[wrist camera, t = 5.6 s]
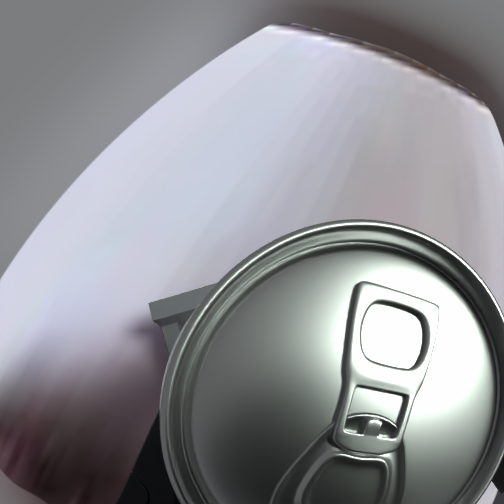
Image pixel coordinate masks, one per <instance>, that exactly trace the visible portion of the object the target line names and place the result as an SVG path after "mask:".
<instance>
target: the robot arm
mask: <svg viewBox="0 0 504 504" xmlns="http://www.w3.org/2000/svg"><path fill="white" fill-rule="evenodd" d="M132 472H133V473H132ZM132 472H131V473H130V475H129V477H128V479H127V482H126V484H125V486H124V488H123V490H122V492H121V494H120V496H119V498H118V500H117V502H116V504H181V503H180V502H179V500H178V498H177V496H176V494H175V492H174V489H173V487H172V485H171V482H170V480H169V477H168V474H167V470H166V467H165V463H164V459H163V453H162V447H161V439H160V408H159V411H158V413H157V415H156V417H155V419H154V422H153V424H152V426H151V428H150V430H149V433H148V435H147V437H146V439H145V441H144V444H143V446H142V448H141V450H140V453H139V455H138V457H137V459H136V462H135V464H134V466H133V468H132ZM492 482H493V483H494V485H495V486H496V488H497V489H498V490H499V492H500V493H503V492H504V456H503V459H502V461H501V463H500V465H499V468H498V470H497V472H496V474H495V475H494V477H493V479H492Z"/></svg>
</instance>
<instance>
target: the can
mask: <svg viewBox="0 0 504 504" xmlns="http://www.w3.org/2000/svg"><path fill="white" fill-rule="evenodd" d="M160 439H161V447H162V453H163V459H164V463H165V467H166V470H167V474H168V477H169V480H170V482H171V485H172V487H173V489H174V492H175V494H176V496H177V498H178V500H179V502H180V503H181V504H476V503H477V502H478V501H479V499H480V498H481V496H482V495H483V494H484V492H485V491H486V489H487V487H488V486H489V484H490V482H491V481H492V479H493V477H494V475H495V474H496V472H497V470H498V468H499V465H500V463H501V461H502V459H503V456H504V315H503V313H502V311H501V308H500V306H499V305H498V303H497V301H496V299H495V297H494V296H493V294H492V292H491V291H490V289H489V288H488V286H487V285H486V284H485V282H484V281H483V280H482V278H481V277H480V276H479V275H478V274H477V272H476V271H475V270H474V269H473V268H472V267H471V266H470V265H469V264H468V263H467V262H466V261H465V260H464V259H463V258H462V257H460V256H459V255H458V254H457V253H455V252H454V251H453V250H451V249H450V248H449V247H447V246H446V245H444V244H443V243H441V242H439V241H438V240H436V239H434V238H432V237H430V236H428V235H426V234H424V233H422V232H419V231H417V230H414V229H412V228H409V227H406V226H402V225H398V224H395V223H390V222H384V221H377V220H364V219H351V220H338V221H331V222H325V223H320V224H316V225H312V226H308V227H305V228H302V229H299V230H296V231H293V232H291V233H289V234H286V235H284V236H282V237H280V238H277V239H275V240H273V241H272V242H270V243H268V244H266V245H264V246H263V247H261V248H259V249H258V250H256V251H255V252H253V253H252V254H250V255H249V256H248V257H246V258H245V259H244V260H242V261H241V262H240V263H238V264H237V265H236V266H235V267H234V268H232V269H231V270H230V271H229V272H228V273H227V274H226V275H225V276H224V277H223V278H222V279H221V280H220V281H219V282H218V283H217V284H216V285H215V286H214V287H213V288H212V289H211V291H210V292H209V293H208V294H207V296H206V297H205V298H204V299H203V301H202V302H201V303H200V304H199V306H198V307H197V308H196V309H195V311H194V312H193V313H192V315H191V316H190V318H189V319H188V321H187V322H186V324H185V325H184V327H183V329H182V330H181V332H180V334H179V336H178V338H177V340H176V342H175V344H174V346H173V349H172V351H171V354H170V356H169V359H168V362H167V366H166V369H165V373H164V377H163V382H162V388H161V396H160Z"/></svg>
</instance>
